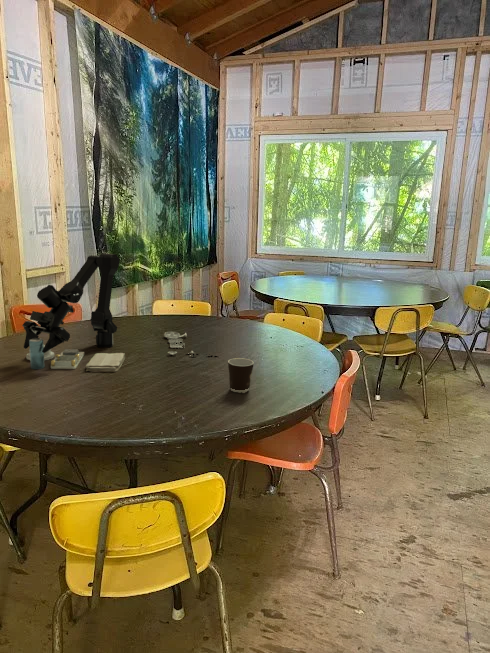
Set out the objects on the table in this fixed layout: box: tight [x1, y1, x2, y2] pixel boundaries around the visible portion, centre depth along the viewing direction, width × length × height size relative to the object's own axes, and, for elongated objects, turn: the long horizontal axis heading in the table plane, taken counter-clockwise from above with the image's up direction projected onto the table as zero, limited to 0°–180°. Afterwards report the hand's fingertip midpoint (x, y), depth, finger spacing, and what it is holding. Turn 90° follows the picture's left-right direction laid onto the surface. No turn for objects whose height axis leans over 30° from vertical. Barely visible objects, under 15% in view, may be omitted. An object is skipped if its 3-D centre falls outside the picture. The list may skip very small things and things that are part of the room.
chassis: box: [50, 348, 85, 370], centre depth 175 cm, size 8×18×3 cm, turn 9°
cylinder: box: [29, 337, 46, 370], centre depth 166 cm, size 5×5×10 cm
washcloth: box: [85, 352, 126, 373], centre depth 175 cm, size 12×18×3 cm, turn 6°
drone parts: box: [163, 331, 194, 357], centre depth 205 cm, size 23×35×3 cm, turn 10°
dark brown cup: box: [227, 357, 255, 390], centre depth 156 cm, size 12×9×10 cm
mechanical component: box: [26, 344, 55, 361], centre depth 178 cm, size 10×4×10 cm
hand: (33, 350), depth 165 cm, fingers open, 9 cm apart
